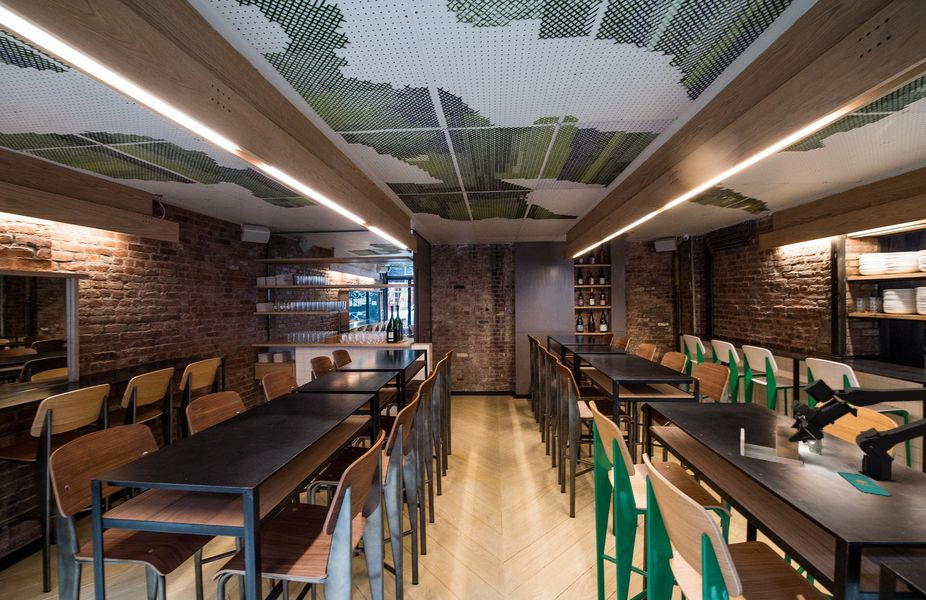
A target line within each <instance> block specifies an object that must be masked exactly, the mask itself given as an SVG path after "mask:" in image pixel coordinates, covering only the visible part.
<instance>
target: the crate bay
mask: <svg viewBox="0 0 926 600" xmlns="http://www.w3.org/2000/svg"><path fill="white" fill-rule="evenodd" d="M740 456H743V457H749V458H750V457H751V458H754V459H756V458H757V459H759V460H763V461H764V460H766V461H769V462H774V463H775V462H776V463H779V464H785V465H787V466H788V465H790V466H795V467H799V468H806V466H805V464H804V461H803V459H802V456H801V454H800V452H798V461H797V460H792V459H787V458H782V457H777V456H776V448H772V447H768V446H761V445H756V444H751V443H747V442H745V428H740Z"/></svg>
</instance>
